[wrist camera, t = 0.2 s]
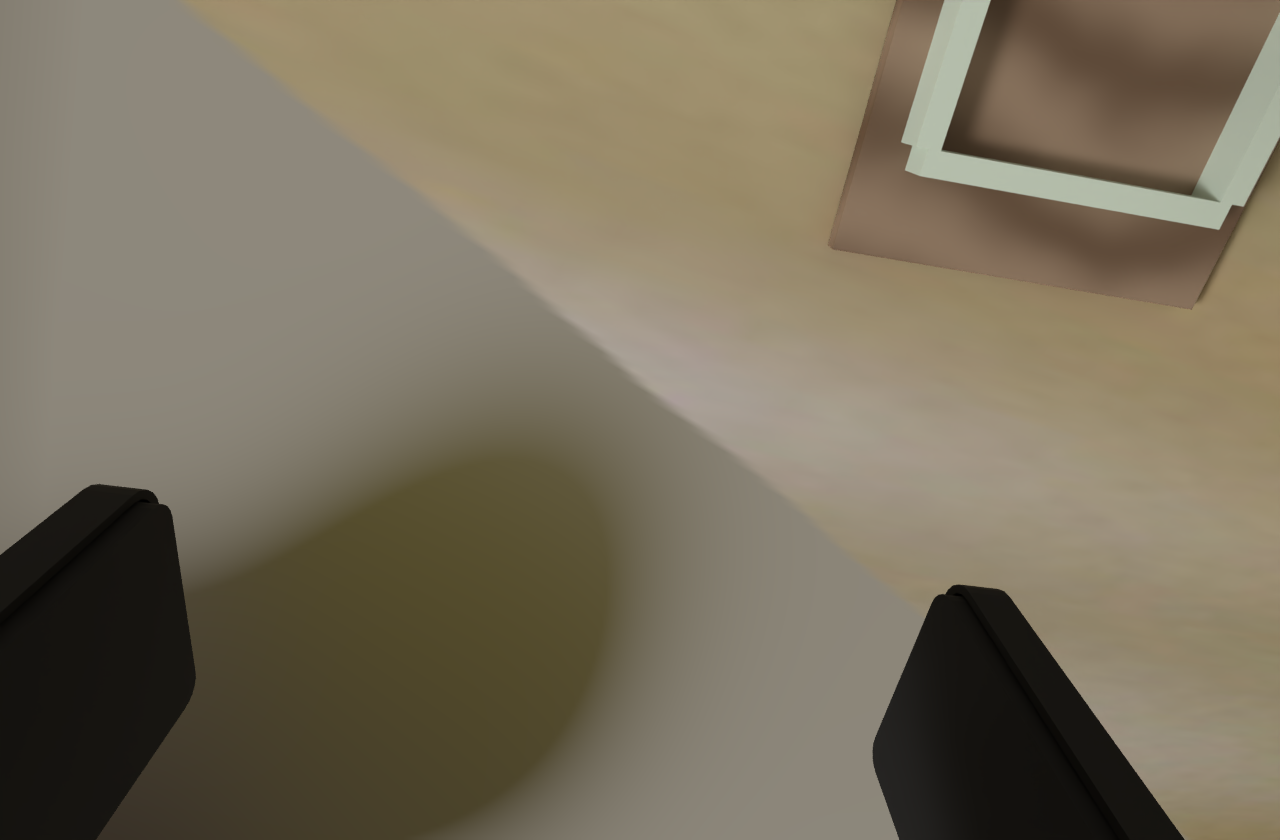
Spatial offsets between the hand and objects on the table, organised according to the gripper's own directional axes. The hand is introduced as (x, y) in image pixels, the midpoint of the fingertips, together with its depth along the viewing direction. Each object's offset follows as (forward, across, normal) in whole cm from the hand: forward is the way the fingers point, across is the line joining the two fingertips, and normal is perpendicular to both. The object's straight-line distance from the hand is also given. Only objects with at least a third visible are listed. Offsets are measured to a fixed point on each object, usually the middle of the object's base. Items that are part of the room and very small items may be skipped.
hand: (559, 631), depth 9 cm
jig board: (+31, -22, -10) cm, 39 cm away
